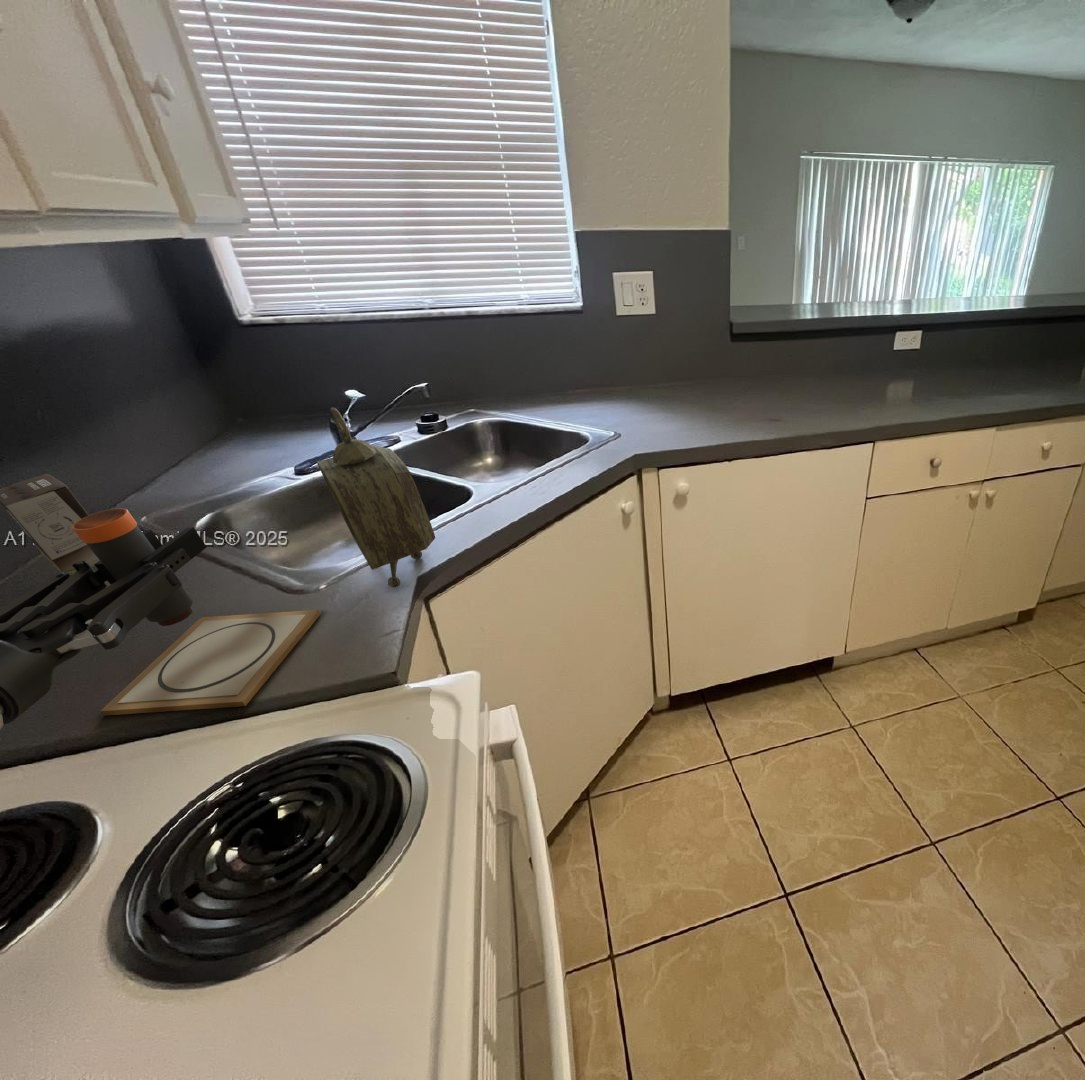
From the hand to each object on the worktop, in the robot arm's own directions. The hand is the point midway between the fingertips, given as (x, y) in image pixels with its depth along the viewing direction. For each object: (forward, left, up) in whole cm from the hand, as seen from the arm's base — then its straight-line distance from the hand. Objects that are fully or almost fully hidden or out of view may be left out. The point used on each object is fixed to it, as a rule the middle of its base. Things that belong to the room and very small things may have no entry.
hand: (175, 539), depth 64 cm
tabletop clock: (+13, +16, -17) cm, 27 cm away
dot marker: (0, -5, -7) cm, 9 cm away
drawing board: (-2, -3, -16) cm, 17 cm away
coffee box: (-34, +17, -17) cm, 41 cm away
